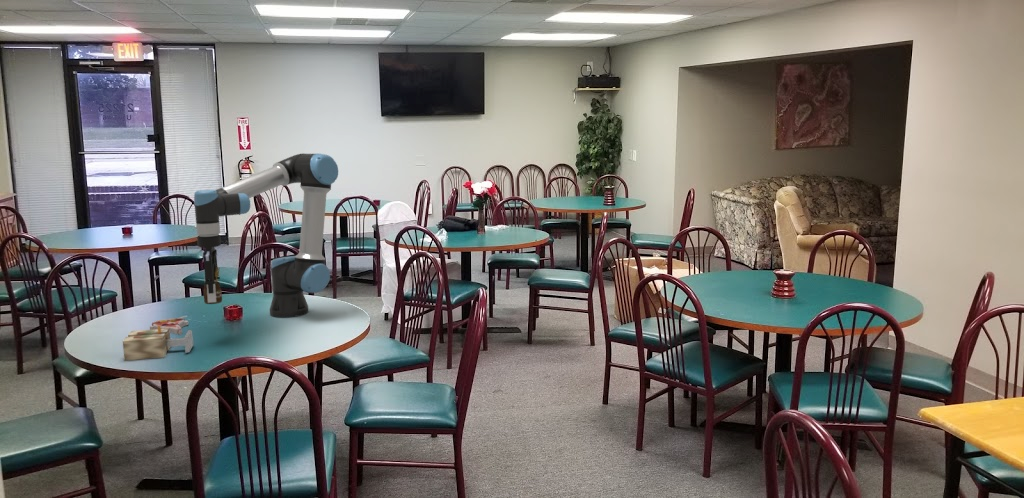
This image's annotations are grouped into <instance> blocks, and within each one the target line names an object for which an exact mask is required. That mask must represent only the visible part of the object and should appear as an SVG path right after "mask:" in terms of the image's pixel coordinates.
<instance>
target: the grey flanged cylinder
mask: <svg viewBox="0 0 1024 498" xmlns="http://www.w3.org/2000/svg"><path fill="white" fill-rule="evenodd" d="M158 334H161V325H158ZM165 341H166V347H170V348H174V347H184V352H185V353H186V354H187V353H190V352H191V350H192V348H193V346H194V338H193V330H192V329H189V330H187V332H186V334H185V335H184V337H180V338H177V337H176V338H170V339H165Z"/></svg>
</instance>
